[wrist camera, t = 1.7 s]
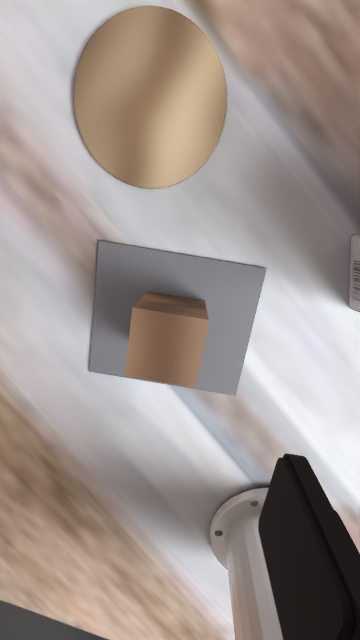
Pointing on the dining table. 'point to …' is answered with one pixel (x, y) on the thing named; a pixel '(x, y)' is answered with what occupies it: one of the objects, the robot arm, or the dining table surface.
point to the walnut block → (166, 339)
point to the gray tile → (184, 281)
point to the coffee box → (355, 273)
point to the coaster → (150, 97)
